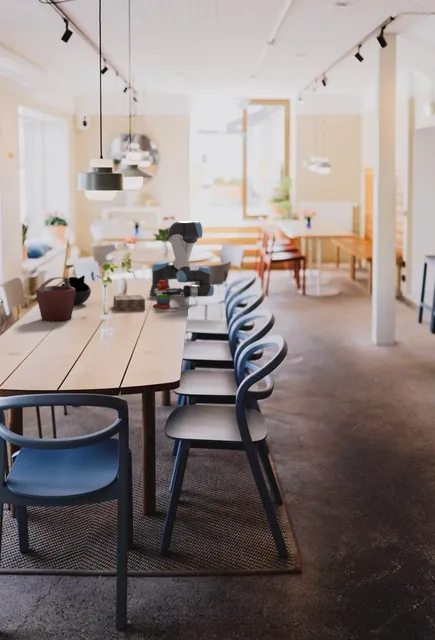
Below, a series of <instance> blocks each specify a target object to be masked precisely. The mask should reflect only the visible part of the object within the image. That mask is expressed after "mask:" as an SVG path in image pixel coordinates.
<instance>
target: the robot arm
mask: <svg viewBox="0 0 435 640" xmlns="http://www.w3.org/2000/svg"><path fill="white" fill-rule="evenodd" d="M201 238H203V226H202V224H201V222H200V221H198V220H197V221H196V220H185V221H184V220H183V221H181V220H179V221H175V222H174V223H172V224H171V225H170V226H169V229H168V231H167V239H168V242H169V243H170V244H171V247H172V248H171V249H172V251H173V256H174V259H173V261H172V262H171V263H170V262H169V261H167V260H165V261H163V260H162V261H156V262H154V263H153V264H152V266H151V267H152V268H151V274H152V275H151V278H152V279H151V281H152V284H151V287H150V290H149V296H155V297H156V294H157V295H169V296H170V297H171V296H183V297H184V298H190V297H191V298H197V297H199V298H200V297H203V298H204V297H207V298H208V297H213V296H214V293H215V288H214V285H213V284H211V267H209V266H199V267H198V269H195V270H193V269H191V266H190V263H189V260H190V257H191V253H192V250H193V247H194V245H195V243H197V242H198V239H201ZM159 280H167V282H168V287H167V289H168V290H167V291H157V290H158V289H159V288H158V286H157V284H158V282H159ZM170 280H177V282H178V283H195V282H196V283H197V282H198V285H196V284H195V285H193V284H191V285H183V288H181V287H178V288H177V287H176V288H175V287H170V283H169V281H170Z"/></svg>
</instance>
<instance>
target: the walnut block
mask: <svg viewBox="0 0 435 640" xmlns="http://www.w3.org/2000/svg"><path fill="white" fill-rule="evenodd" d="M113 308H114V309H115V311H116V312H124V311H125V312H126V311H128V312H129V311H132V312H133V311H146V299H145V298H144V297H143V295H141V294H129V295H128V294H127V295H123V294H122V295H113Z"/></svg>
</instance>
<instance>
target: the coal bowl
mask: <svg viewBox="0 0 435 640" xmlns="http://www.w3.org/2000/svg"><path fill="white" fill-rule="evenodd" d="M85 278H86V277H85V275H82V276H80V277H75V276H70V277H69V278H68V279H69V283H70V287H73V288H75V290H76V294H75V300H74V305H73V306H75V305H76V306H79V305H81V304H84V303H85V302H87V301H88V299H89V298H90V297H91V293H92V288H91V287H90V286H89V285H88V284H87V283H86V282H85ZM64 284H65V283H62V284H61V285H60V286H64Z"/></svg>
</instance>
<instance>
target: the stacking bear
mask: <svg viewBox="0 0 435 640" xmlns="http://www.w3.org/2000/svg"><path fill="white" fill-rule="evenodd" d="M157 286H158V288H159V289H158V290H157V291H167V290H168V289H167V287H168V282H167V280H159V282H158V284H157ZM155 300H156V303H154V304H152V307H153V308H155V309H156V308H157V309H158V308H159V309H163V310H165V309H169V308H171V304H170V302H171V295H170V296H169V295H157V294H156V296H155Z"/></svg>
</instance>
